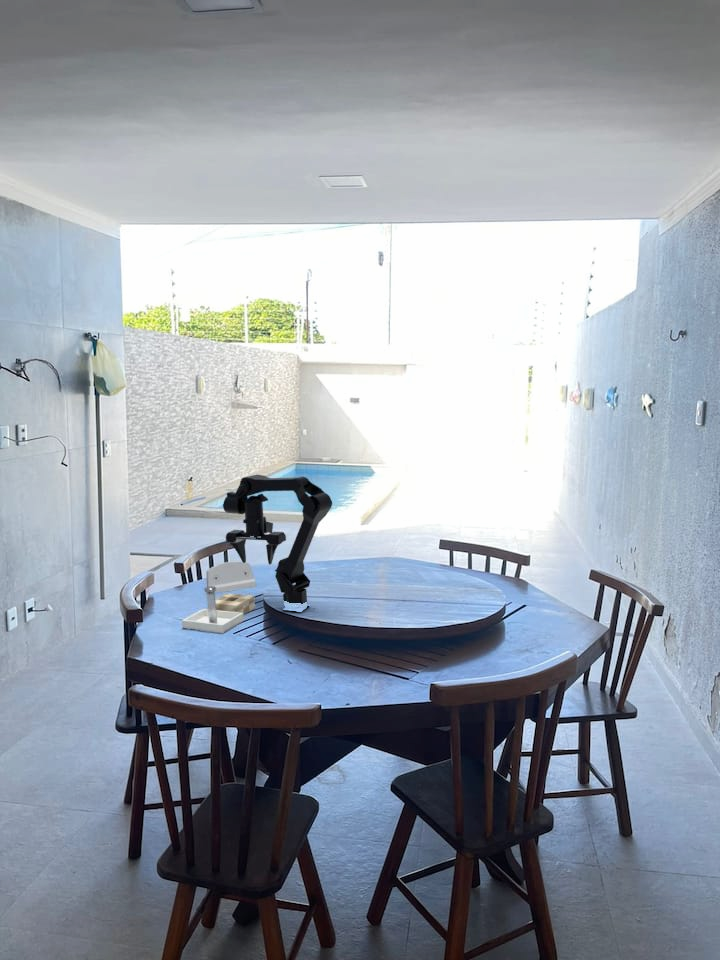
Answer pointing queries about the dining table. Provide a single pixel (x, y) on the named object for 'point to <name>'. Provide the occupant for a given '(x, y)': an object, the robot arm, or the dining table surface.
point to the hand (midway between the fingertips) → (257, 563)
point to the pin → (211, 604)
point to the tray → (224, 623)
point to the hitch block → (235, 603)
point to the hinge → (230, 576)
